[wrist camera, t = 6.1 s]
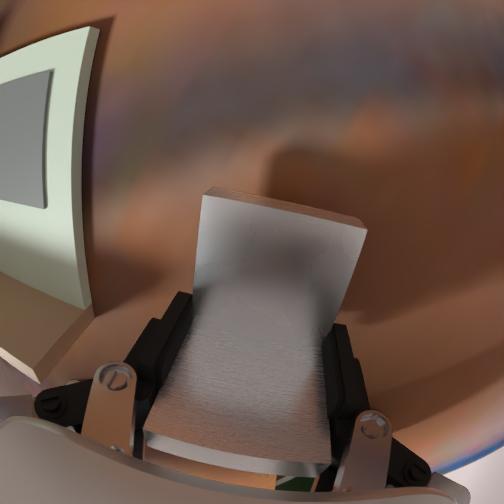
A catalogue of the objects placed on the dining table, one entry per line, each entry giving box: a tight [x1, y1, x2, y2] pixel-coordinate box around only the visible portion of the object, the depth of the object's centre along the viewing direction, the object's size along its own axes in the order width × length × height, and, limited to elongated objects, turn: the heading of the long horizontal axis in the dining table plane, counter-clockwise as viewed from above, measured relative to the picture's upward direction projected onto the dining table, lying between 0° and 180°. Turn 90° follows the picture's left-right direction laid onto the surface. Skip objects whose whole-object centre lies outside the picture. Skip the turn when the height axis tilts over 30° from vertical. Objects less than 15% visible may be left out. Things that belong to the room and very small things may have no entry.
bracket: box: [143, 187, 367, 478], centre depth 8 cm, size 6×5×6 cm
